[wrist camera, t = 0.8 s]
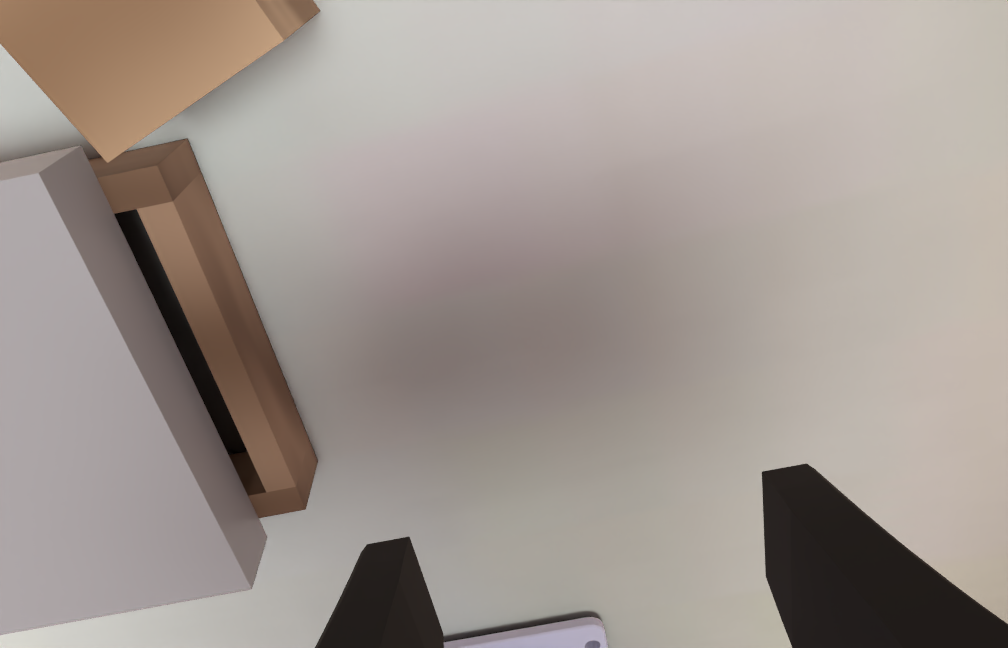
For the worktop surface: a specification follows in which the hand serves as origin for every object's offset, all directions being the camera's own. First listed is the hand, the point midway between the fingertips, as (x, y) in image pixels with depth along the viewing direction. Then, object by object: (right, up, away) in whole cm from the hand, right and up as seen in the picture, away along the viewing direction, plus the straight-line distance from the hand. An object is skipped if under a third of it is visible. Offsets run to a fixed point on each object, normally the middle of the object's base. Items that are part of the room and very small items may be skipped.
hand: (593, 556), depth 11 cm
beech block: (-8, +11, +5) cm, 14 cm away
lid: (-13, +1, +8) cm, 15 cm away
